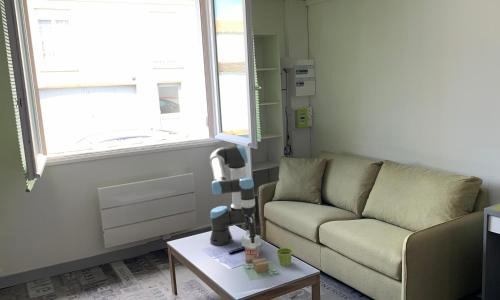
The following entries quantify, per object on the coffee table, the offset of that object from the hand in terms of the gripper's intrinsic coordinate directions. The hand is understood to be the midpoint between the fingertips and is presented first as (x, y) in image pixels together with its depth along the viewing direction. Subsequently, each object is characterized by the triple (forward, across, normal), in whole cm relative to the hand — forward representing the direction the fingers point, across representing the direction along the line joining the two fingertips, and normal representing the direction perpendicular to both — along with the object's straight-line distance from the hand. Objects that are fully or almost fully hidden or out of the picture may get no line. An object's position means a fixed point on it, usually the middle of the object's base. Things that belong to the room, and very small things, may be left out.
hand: (251, 244), depth 232 cm
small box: (+1, 0, 0) cm, 1 cm away
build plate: (+16, +1, +5) cm, 17 cm away
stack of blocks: (+17, -21, +5) cm, 27 cm away
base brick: (+15, +1, +5) cm, 16 cm away
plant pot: (+17, -3, +20) cm, 26 cm away
